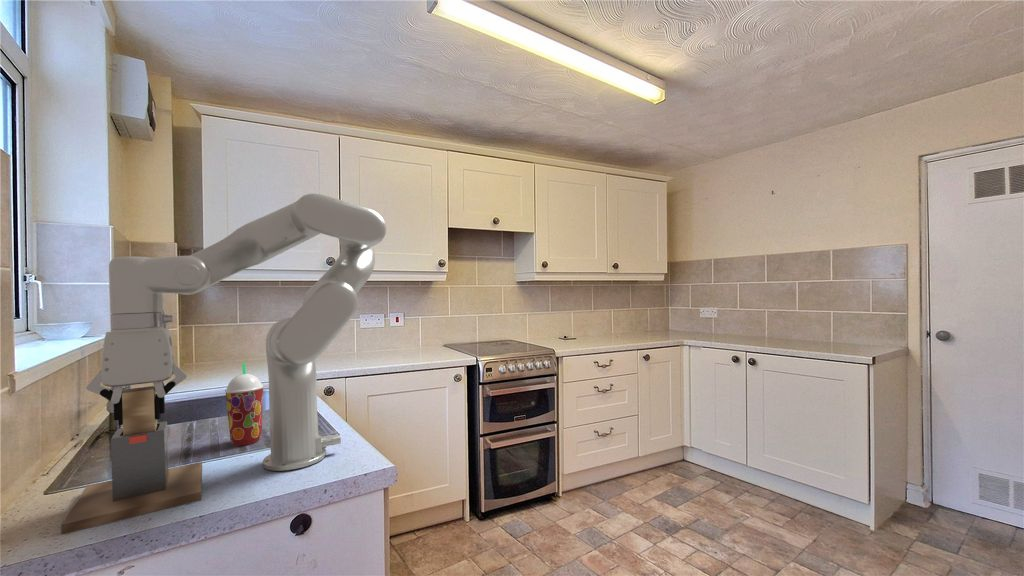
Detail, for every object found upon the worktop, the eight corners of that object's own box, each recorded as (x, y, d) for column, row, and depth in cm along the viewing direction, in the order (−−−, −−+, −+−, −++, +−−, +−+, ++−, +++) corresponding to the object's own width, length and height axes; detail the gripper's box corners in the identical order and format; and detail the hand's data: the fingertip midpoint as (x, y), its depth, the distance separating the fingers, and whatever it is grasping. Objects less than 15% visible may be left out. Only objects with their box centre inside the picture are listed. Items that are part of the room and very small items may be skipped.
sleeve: (168, 476, 87) (167, 421, 87) (165, 490, 80) (163, 430, 80) (119, 487, 83) (117, 428, 83) (112, 502, 76) (110, 439, 76)
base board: (202, 468, 94) (201, 461, 94) (201, 500, 79) (200, 491, 79) (87, 493, 84) (87, 485, 84) (61, 534, 69) (61, 524, 69)
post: (159, 478, 85) (156, 385, 85) (156, 486, 81) (154, 389, 81) (127, 485, 82) (125, 389, 82) (124, 493, 79) (121, 393, 79)
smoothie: (257, 434, 117) (255, 359, 117) (270, 440, 111) (268, 361, 112) (221, 443, 110) (219, 364, 110) (233, 450, 105) (231, 367, 105)
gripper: (193, 319, 90) (196, 408, 90) (80, 325, 80) (82, 425, 80) (192, 320, 84) (195, 416, 84) (69, 327, 74) (72, 435, 74)
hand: (140, 419), depth 82 cm, fingers closed on post, 4 cm apart
